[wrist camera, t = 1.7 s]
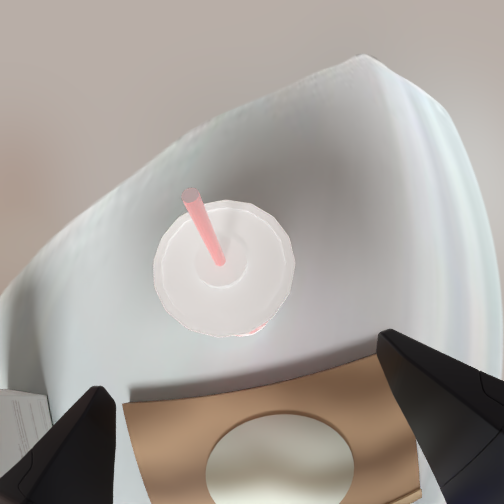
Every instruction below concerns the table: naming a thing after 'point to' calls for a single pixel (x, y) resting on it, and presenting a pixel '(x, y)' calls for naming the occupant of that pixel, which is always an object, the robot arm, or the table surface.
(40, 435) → the supplement box
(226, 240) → the beverage cup
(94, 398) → the robot arm
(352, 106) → the table surface
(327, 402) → the board
